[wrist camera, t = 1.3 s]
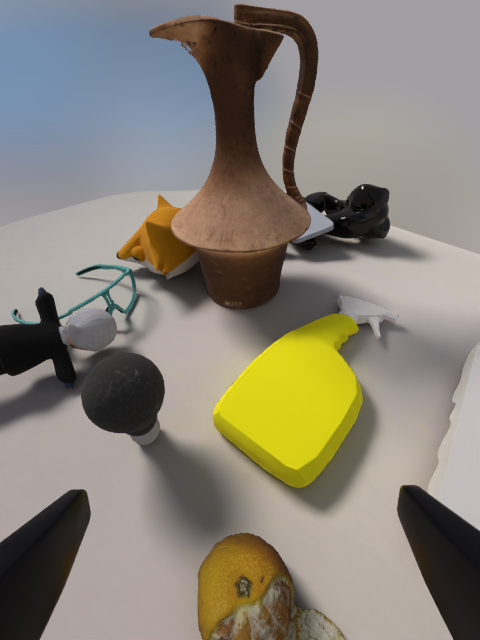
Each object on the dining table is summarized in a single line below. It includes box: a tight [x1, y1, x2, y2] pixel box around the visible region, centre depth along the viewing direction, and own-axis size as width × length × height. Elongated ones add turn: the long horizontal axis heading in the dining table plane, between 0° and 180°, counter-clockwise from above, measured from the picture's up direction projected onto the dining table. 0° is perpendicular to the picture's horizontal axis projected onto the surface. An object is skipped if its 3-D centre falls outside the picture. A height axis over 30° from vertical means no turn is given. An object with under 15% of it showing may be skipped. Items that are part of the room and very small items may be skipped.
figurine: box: [0, 288, 117, 389], centre depth 29 cm, size 11×6×15 cm
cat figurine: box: [300, 184, 390, 250], centre depth 52 cm, size 10×14×18 cm
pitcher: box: [149, 4, 318, 308], centre depth 32 cm, size 18×17×28 cm
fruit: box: [198, 533, 345, 640], centre depth 16 cm, size 8×8×4 cm
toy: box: [117, 195, 199, 279], centre depth 44 cm, size 19×15×10 cm
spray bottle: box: [213, 295, 399, 488], centre depth 30 cm, size 3×11×24 cm
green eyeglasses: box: [12, 264, 136, 324], centre depth 38 cm, size 14×15×5 cm
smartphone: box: [292, 201, 334, 243], centre depth 51 cm, size 7×1×15 cm
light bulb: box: [81, 353, 165, 445], centre depth 22 cm, size 6×6×10 cm
